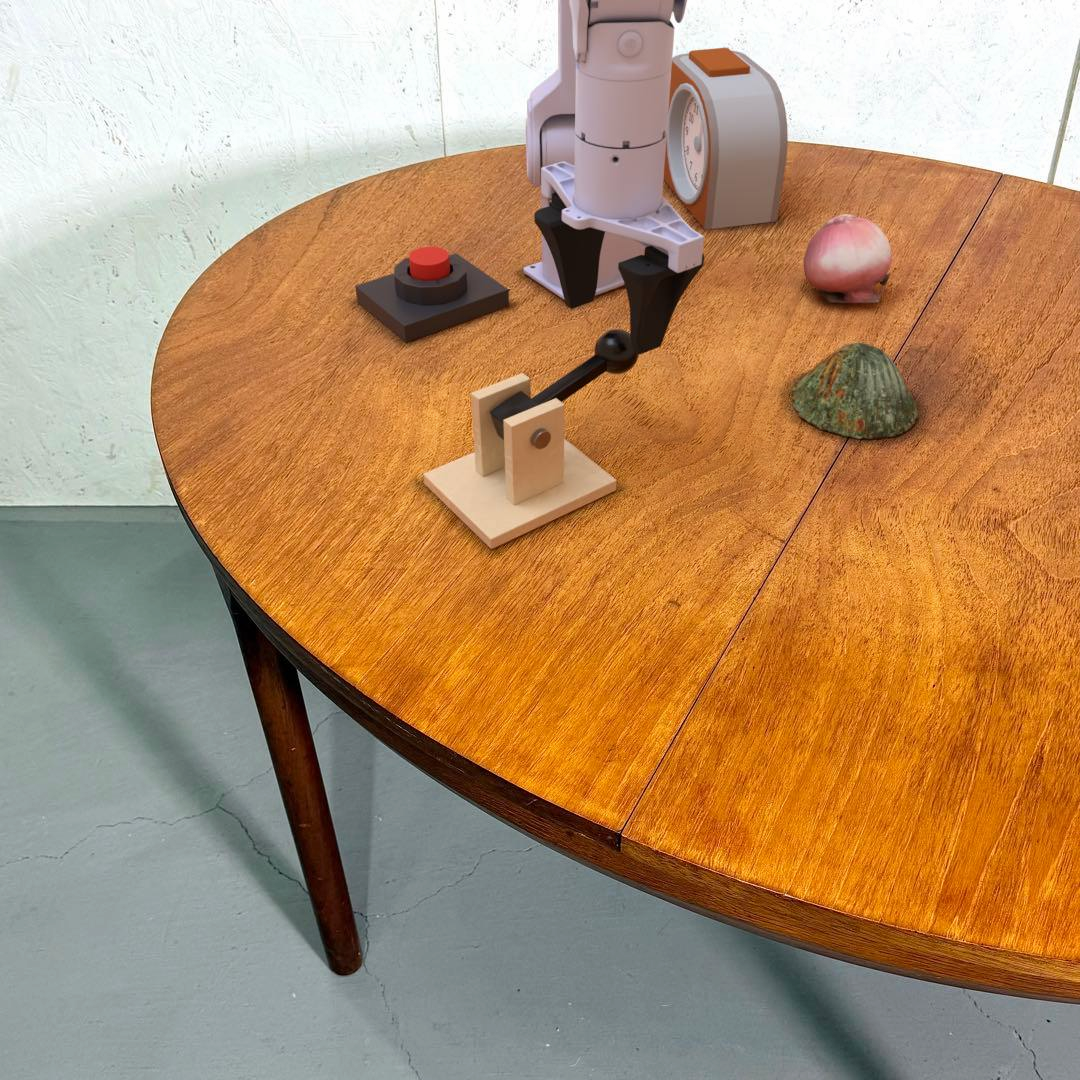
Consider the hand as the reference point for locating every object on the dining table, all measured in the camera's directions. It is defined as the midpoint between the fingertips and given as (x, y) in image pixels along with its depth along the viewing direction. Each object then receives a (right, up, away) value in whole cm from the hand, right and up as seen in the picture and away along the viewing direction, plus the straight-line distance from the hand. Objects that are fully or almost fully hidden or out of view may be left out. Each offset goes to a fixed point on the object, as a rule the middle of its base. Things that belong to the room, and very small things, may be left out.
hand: (612, 325), depth 75 cm
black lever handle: (-3, -5, +1) cm, 6 cm away
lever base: (-7, -11, +3) cm, 13 cm away
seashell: (+20, -4, +11) cm, 23 cm away
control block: (-15, +7, +23) cm, 29 cm away
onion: (+23, +8, +25) cm, 35 cm away
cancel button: (-15, +9, +21) cm, 28 cm away
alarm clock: (+14, +22, +41) cm, 48 cm away
